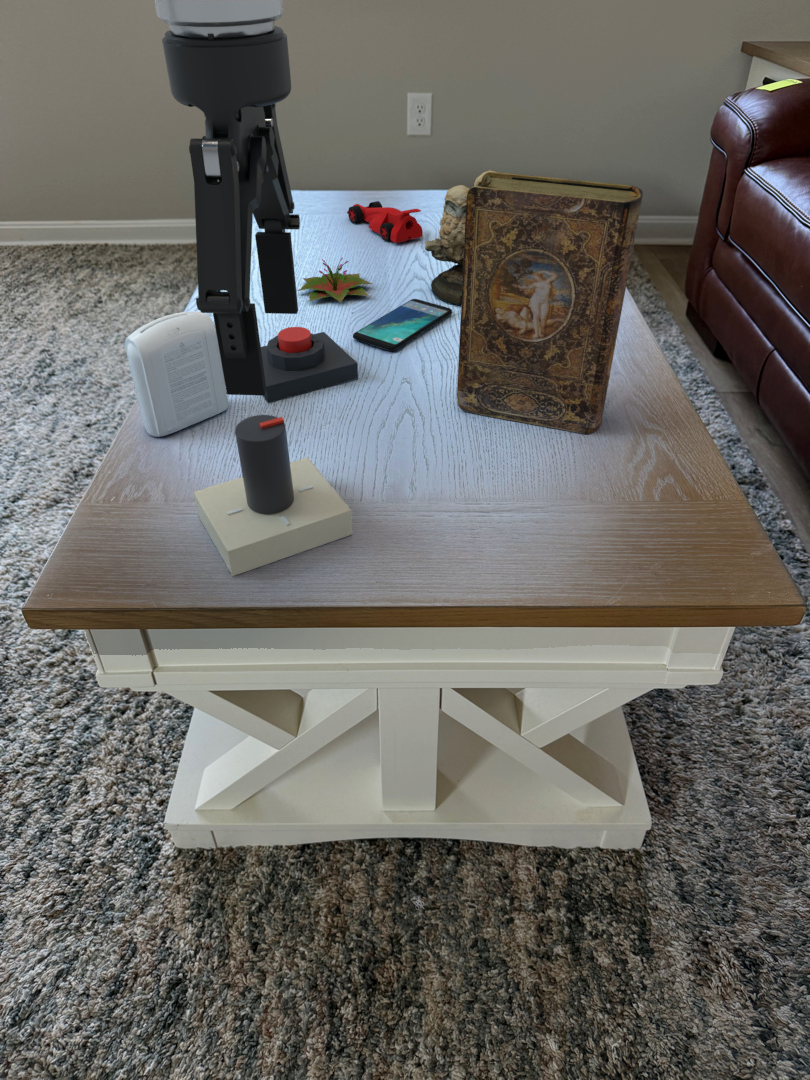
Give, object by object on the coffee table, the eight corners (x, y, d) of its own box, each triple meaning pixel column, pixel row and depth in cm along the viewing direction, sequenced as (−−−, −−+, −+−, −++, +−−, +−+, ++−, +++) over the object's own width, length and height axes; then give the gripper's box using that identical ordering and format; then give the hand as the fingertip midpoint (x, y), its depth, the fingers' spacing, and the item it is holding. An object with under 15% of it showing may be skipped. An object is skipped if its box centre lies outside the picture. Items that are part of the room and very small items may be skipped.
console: (232, 576, 70) (227, 550, 68) (198, 516, 77) (192, 490, 75) (352, 534, 75) (351, 508, 73) (310, 480, 81) (307, 455, 79)
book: (604, 412, 92) (646, 186, 75) (596, 436, 88) (638, 204, 71) (469, 388, 96) (481, 170, 80) (456, 410, 92) (465, 186, 76)
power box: (268, 402, 94) (264, 372, 91) (239, 368, 100) (235, 339, 98) (358, 378, 98) (357, 349, 95) (325, 346, 105) (322, 318, 102)
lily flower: (299, 311, 113) (296, 280, 110) (292, 279, 122) (289, 249, 119) (381, 303, 115) (380, 273, 112) (368, 273, 124) (367, 243, 121)
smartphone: (454, 308, 112) (393, 348, 102) (454, 313, 112) (393, 353, 103) (413, 297, 115) (350, 334, 105) (413, 302, 115) (350, 339, 106)
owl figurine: (419, 306, 114) (420, 182, 103) (429, 275, 123) (431, 158, 112) (544, 313, 112) (558, 188, 101) (545, 281, 121) (558, 162, 110)
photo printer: (215, 396, 95) (197, 297, 87) (235, 409, 92) (219, 309, 84) (138, 428, 89) (112, 326, 81) (158, 443, 87) (133, 339, 79)
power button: (286, 357, 95) (285, 344, 94) (274, 344, 97) (272, 331, 96) (317, 349, 96) (315, 336, 95) (304, 337, 99) (302, 324, 98)
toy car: (370, 212, 147) (369, 183, 143) (423, 239, 135) (424, 209, 132) (342, 218, 144) (341, 189, 141) (394, 246, 133) (394, 216, 130)
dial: (257, 520, 72) (244, 443, 66) (240, 494, 75) (227, 419, 69) (301, 505, 73) (292, 429, 68) (283, 481, 76) (273, 406, 71)
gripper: (238, 63, 38) (284, 437, 51) (316, 0, 57) (334, 286, 70) (86, 62, 38) (172, 434, 52) (213, 0, 57) (252, 284, 71)
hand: (265, 349), depth 61 cm, fingers open, 13 cm apart
